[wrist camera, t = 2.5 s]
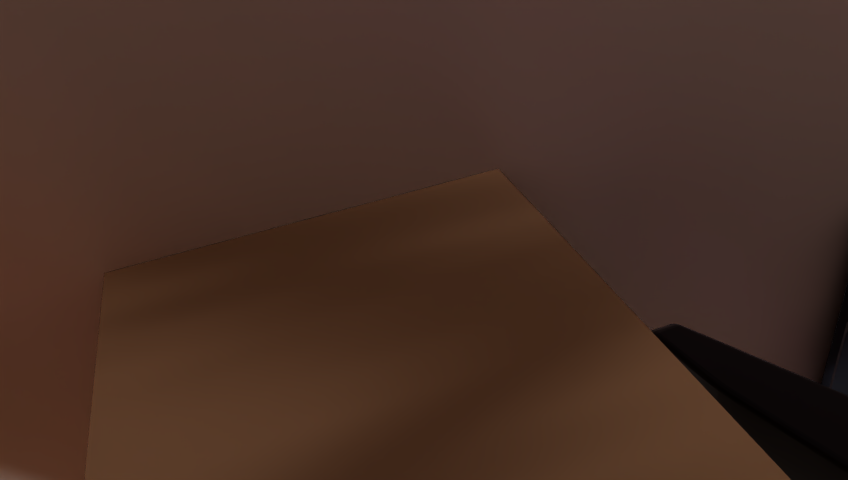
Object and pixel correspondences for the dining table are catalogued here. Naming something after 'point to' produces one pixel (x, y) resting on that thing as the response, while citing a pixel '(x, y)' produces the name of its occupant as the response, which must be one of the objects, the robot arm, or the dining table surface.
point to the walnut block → (397, 357)
